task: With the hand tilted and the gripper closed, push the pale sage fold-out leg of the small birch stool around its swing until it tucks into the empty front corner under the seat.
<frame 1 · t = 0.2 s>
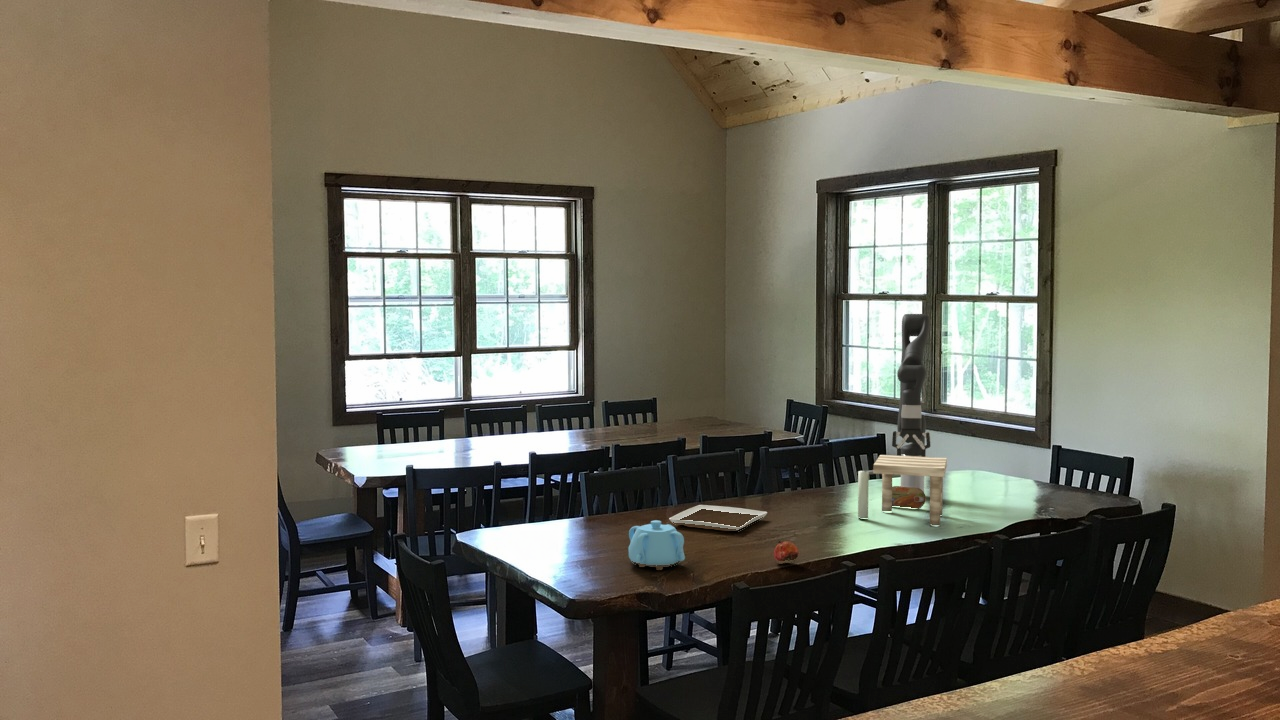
hand: (911, 458, 398), 18 cm above the table, tool pointing down, fingers open, 8 cm apart
tin: (905, 508, 391), on the table
decorative pot: (656, 566, 309), on the table
stool: (910, 518, 372), on the table
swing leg: (873, 493, 373), point 9 cm above the table, hinge at -45.0°
pomegranate: (786, 565, 310), on the table
square plate: (718, 525, 366), on the table
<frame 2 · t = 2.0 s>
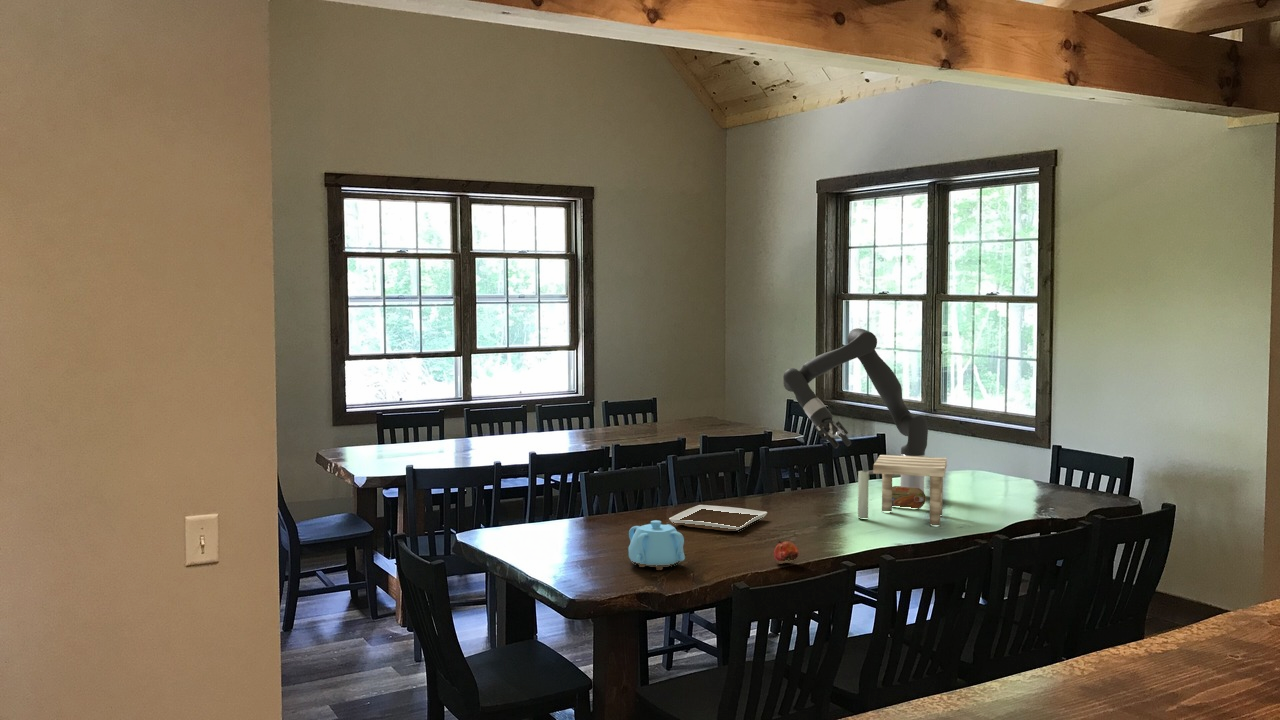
hand: (843, 446, 381), 25 cm above the table, tool tilted 45°, fingers open, 8 cm apart
nothing on the table moved.
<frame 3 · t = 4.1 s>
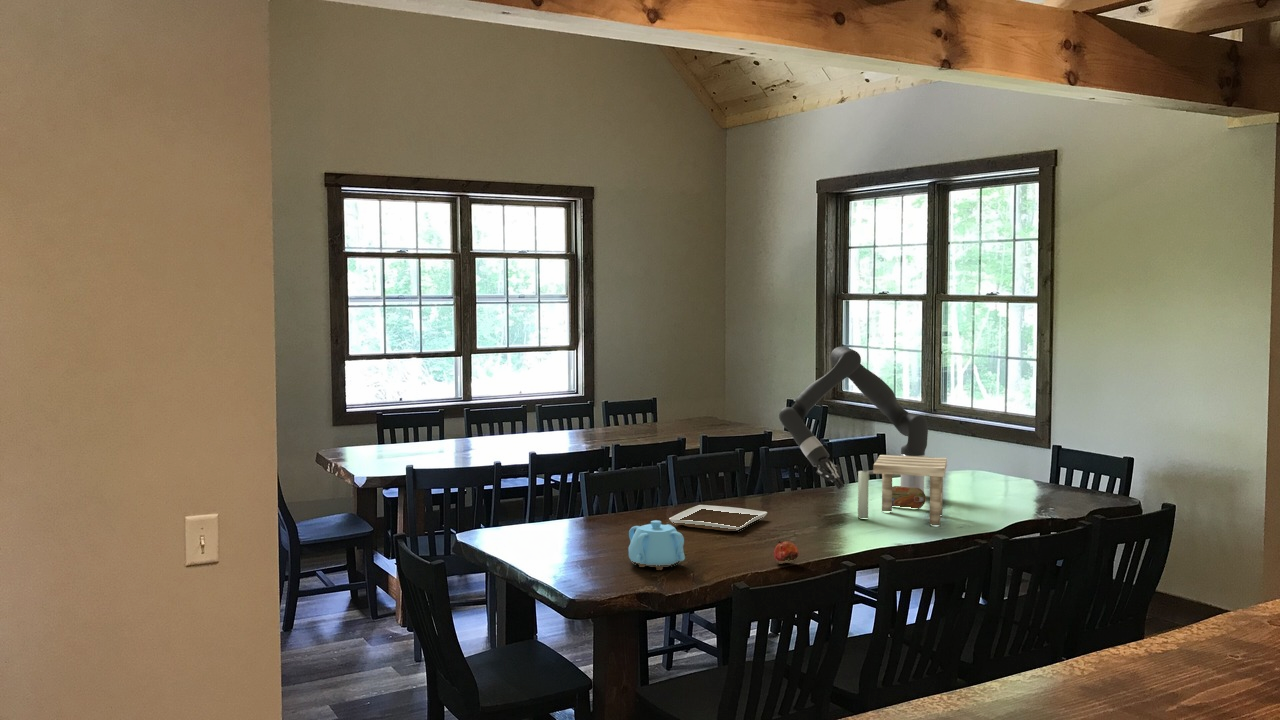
hand: (841, 487, 380), 10 cm above the table, tool tilted 45°, fingers closed
nothing on the table moved.
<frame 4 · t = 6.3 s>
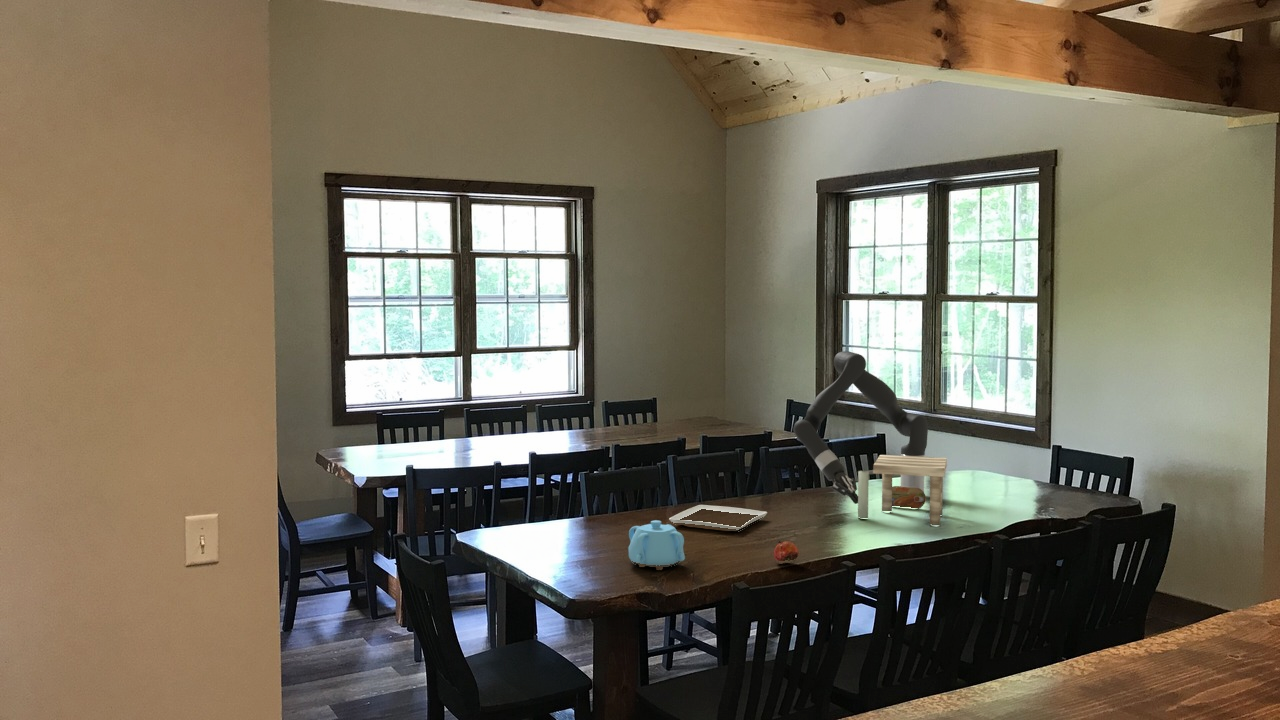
hand: (858, 502, 373), 6 cm above the table, tool tilted 45°, fingers closed
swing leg: (873, 493, 373), point 9 cm above the table, hinge at -44.9°, touching gripper
everything else where it was.
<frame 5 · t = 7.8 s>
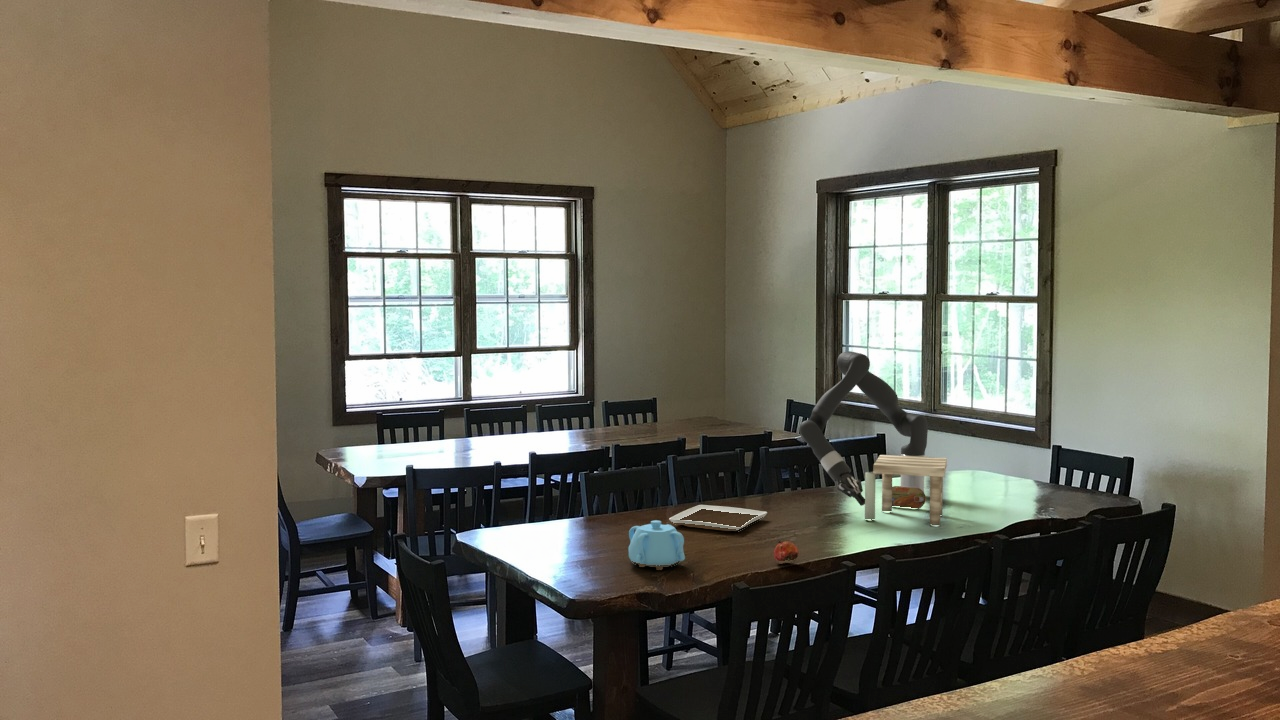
hand: (864, 504, 370), 6 cm above the table, tool tilted 45°, fingers closed
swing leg: (877, 494, 371), point 9 cm above the table, hinge at -26.3°, touching gripper
everything else where it was.
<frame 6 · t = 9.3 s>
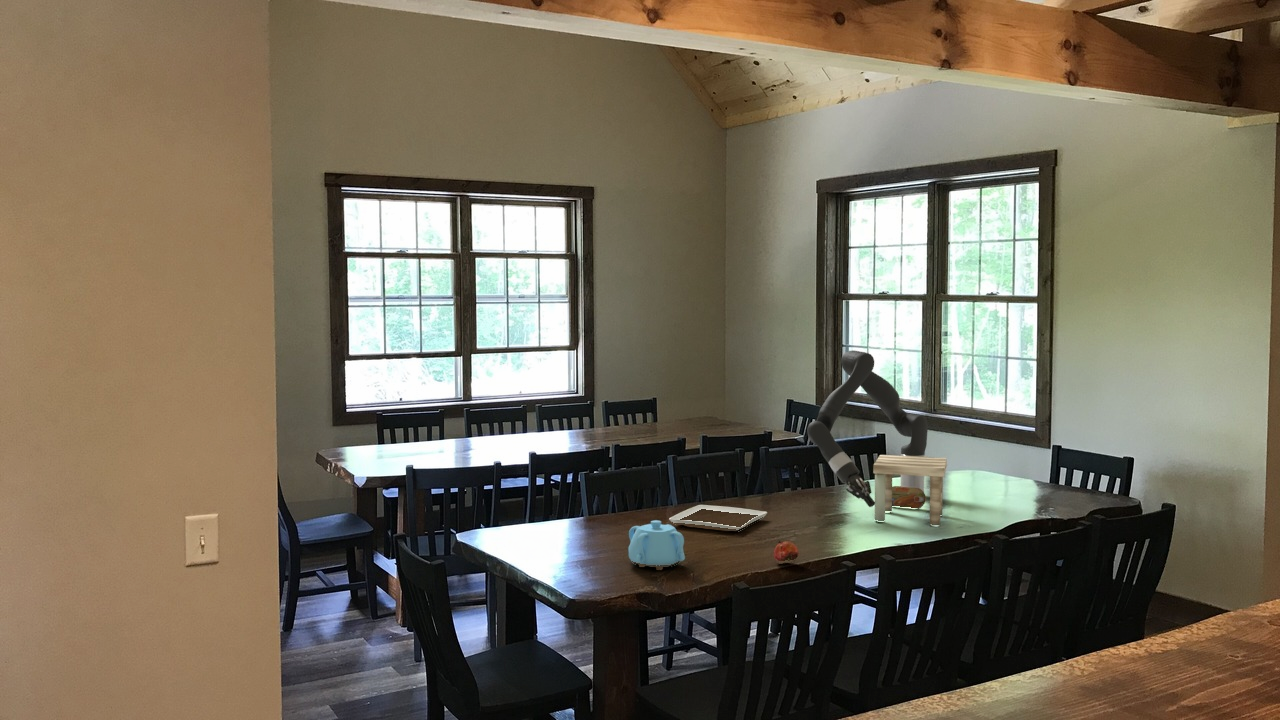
hand: (872, 505, 367), 6 cm above the table, tool tilted 45°, fingers closed
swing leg: (882, 495, 370), point 9 cm above the table, hinge at -5.3°, touching gripper
everything else where it was.
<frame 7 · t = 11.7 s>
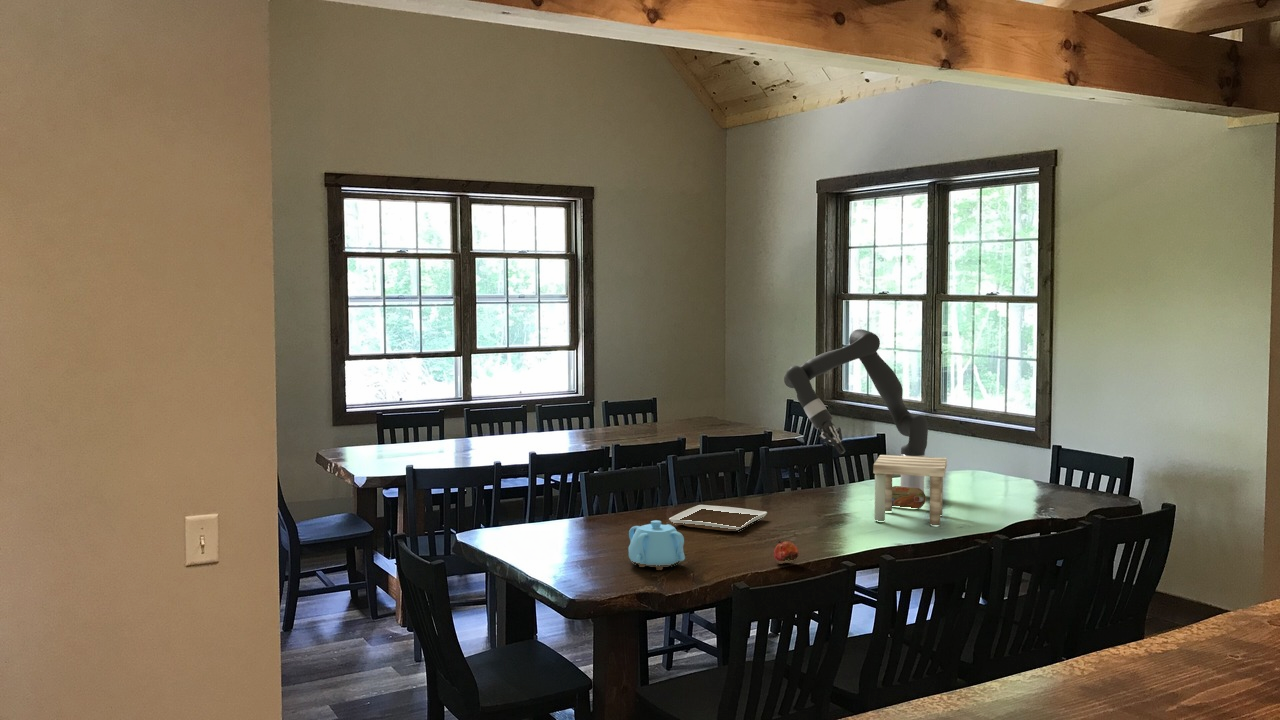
hand: (842, 452, 382), 22 cm above the table, tool tilted 35°, fingers closed
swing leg: (882, 495, 370), point 9 cm above the table, hinge at -5.3°
everything else where it was.
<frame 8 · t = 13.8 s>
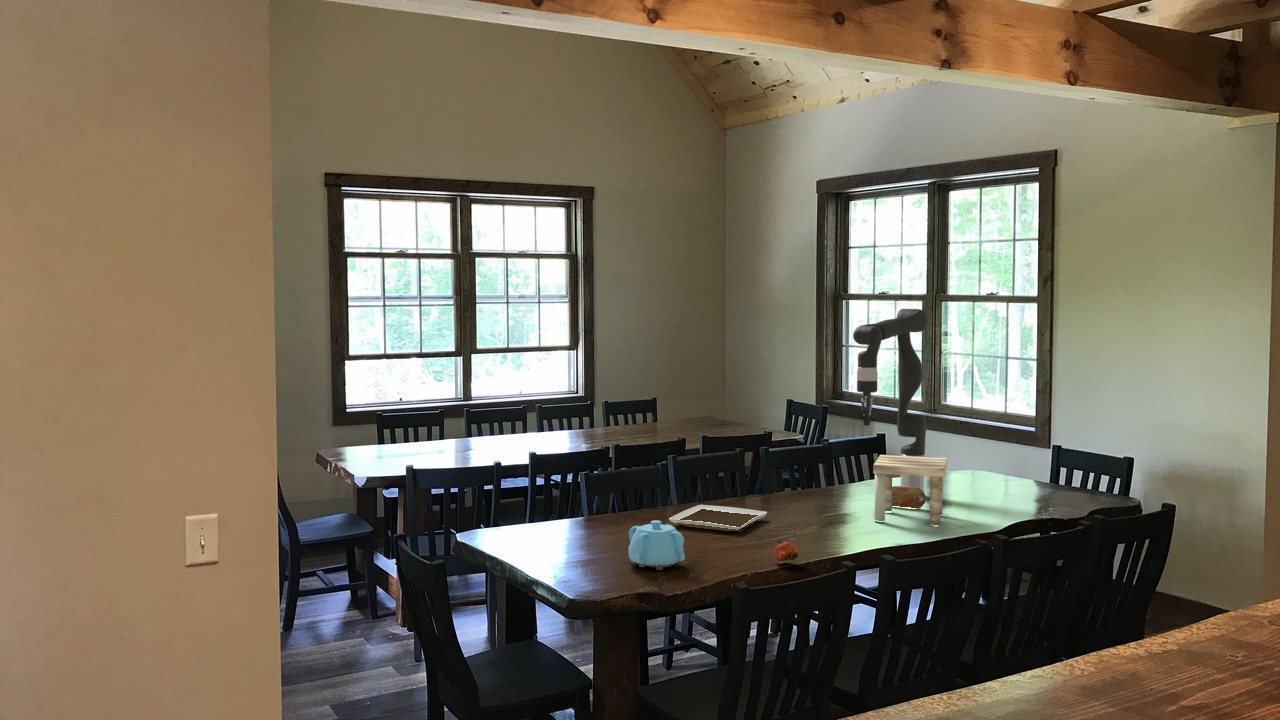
hand: (866, 425, 387), 32 cm above the table, tool pointing down, fingers closed
nothing on the table moved.
at the end: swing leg at -5° (first picture: -45°); tin moved 0.3 cm from its start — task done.
